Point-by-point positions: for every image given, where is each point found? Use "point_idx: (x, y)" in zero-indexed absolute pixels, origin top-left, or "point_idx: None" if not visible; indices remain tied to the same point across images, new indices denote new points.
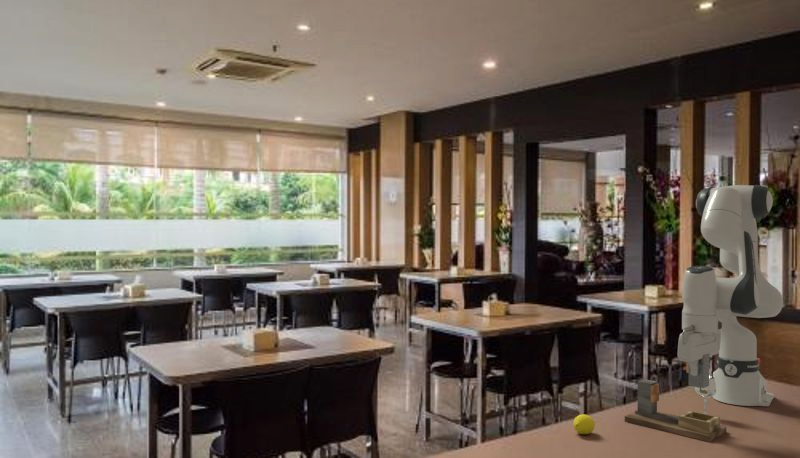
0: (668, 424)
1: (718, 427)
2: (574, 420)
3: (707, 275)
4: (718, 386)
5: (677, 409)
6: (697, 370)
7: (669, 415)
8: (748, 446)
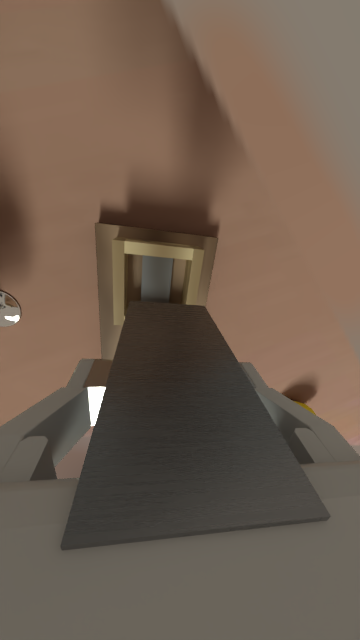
0: None
1: (127, 238)
2: None
3: None
4: None
5: (7, 372)
6: (260, 383)
7: None
8: (185, 131)
